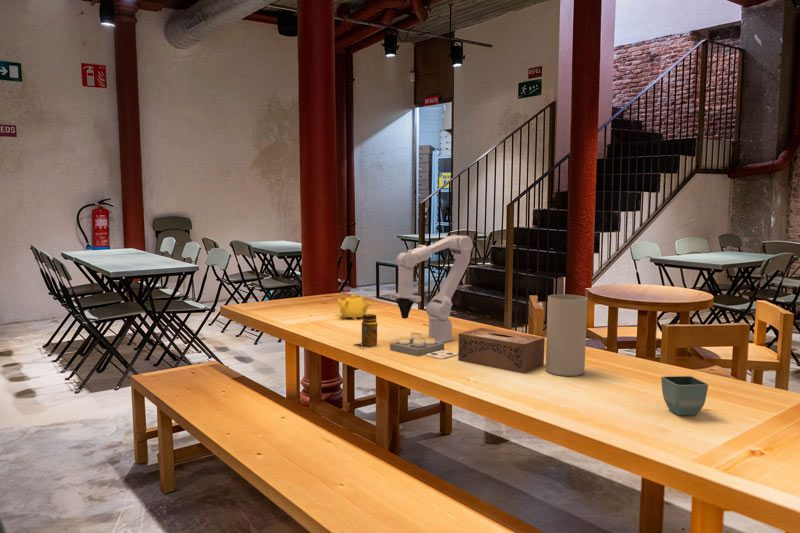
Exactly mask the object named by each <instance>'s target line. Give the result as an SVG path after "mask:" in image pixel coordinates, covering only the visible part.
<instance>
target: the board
mask: <svg viewBox="0 0 800 533" xmlns="http://www.w3.org/2000/svg"><path fill="white" fill-rule="evenodd" d="M423 339H424V348H415V347H413V342H411V338H410V344H409V345H400V344H399V341H395V342H392V343H389V351H393V352H398V353H401V352H402V354H406V353H407V354H406V355H410V354H411V355H410V356H415V357H421V356H425V354H429V353H433V352H436V351H440V350H444V351H445V342H443V343H440V342H435V345H432V346H430V345H425V338H423Z"/></svg>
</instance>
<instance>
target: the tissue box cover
mask: <svg viewBox="0 0 800 533" xmlns="http://www.w3.org/2000/svg"><path fill="white" fill-rule="evenodd" d="M545 345H546V344H545V337H543V336H538V335H533V334H532V335H531V334H524V333H518V332H512V331H505V330H500V329H499V330H498V329H492V328H486V327H478V328H473V329H470V330H467V331H463V332H459V333H458V347H457V348H458V352H457V353H458V355H457V359H458V361H459V362H463V363H468V364H472V365H473V364H474V365H479V366H484V367H488V368H495V369H498V370H504V371H510V372H512V373H513V372H514V373H519V374H525V373H528V372H531V371H533V370H535V369H538V368H541V367H543V366H545Z"/></svg>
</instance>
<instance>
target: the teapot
mask: <svg viewBox="0 0 800 533" xmlns="http://www.w3.org/2000/svg"><path fill="white" fill-rule="evenodd" d="M336 301H337V303H338V305H339V307H340V308H339V314H340V315H341V316H343V318H347V319H349V318H352V319H357V318H359V319H363V318H362V317H363V315H365V314H367V313H368V308H369V307H371V305H372V303H371V302H370V301H367V302H366V299H365V296H359V297H358V296H357V295H356V294H350V297H346V298H344V300H343V299H341V298H340V297H339V298H337V299H336ZM352 319H351V320H352Z"/></svg>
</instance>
